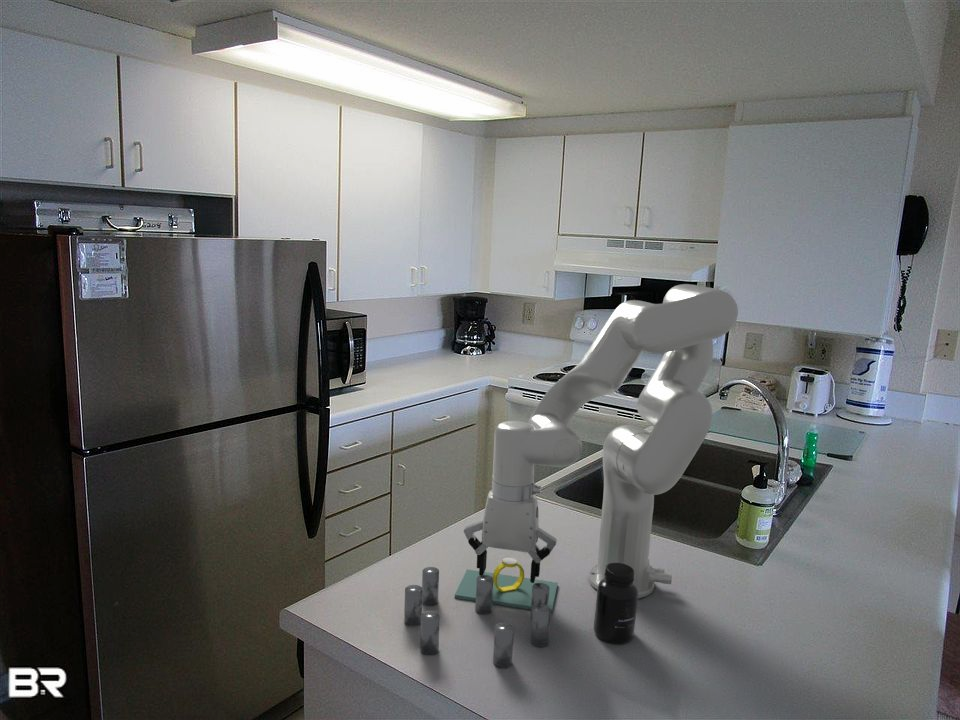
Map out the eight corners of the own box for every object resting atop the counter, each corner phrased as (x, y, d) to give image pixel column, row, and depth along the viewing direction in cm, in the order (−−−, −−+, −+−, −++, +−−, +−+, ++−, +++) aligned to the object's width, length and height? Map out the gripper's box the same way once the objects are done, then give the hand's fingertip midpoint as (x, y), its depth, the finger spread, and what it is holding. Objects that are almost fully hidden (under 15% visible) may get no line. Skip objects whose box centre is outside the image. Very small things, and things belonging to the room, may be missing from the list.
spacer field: (553, 616, 121) (556, 585, 120) (542, 675, 105) (544, 639, 104) (419, 595, 126) (420, 565, 125) (387, 648, 110) (388, 614, 109)
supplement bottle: (625, 650, 112) (631, 583, 110) (587, 636, 116) (592, 570, 113) (639, 631, 118) (645, 566, 116) (602, 618, 121) (607, 555, 119)
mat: (557, 585, 132) (557, 582, 132) (551, 612, 122) (551, 609, 122) (466, 572, 135) (467, 569, 135) (454, 597, 126) (454, 594, 126)
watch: (518, 585, 131) (521, 556, 130) (524, 592, 128) (528, 562, 127) (489, 588, 128) (493, 558, 127) (495, 595, 126) (499, 565, 125)
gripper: (561, 487, 126) (555, 572, 130) (470, 476, 130) (467, 560, 133) (557, 502, 119) (551, 592, 122) (461, 490, 123) (458, 578, 126)
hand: (507, 575), depth 128 cm, fingers open, 9 cm apart
